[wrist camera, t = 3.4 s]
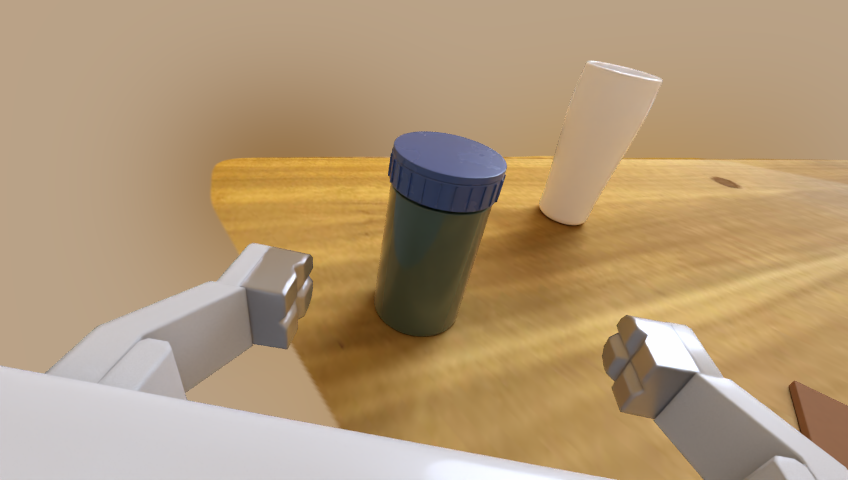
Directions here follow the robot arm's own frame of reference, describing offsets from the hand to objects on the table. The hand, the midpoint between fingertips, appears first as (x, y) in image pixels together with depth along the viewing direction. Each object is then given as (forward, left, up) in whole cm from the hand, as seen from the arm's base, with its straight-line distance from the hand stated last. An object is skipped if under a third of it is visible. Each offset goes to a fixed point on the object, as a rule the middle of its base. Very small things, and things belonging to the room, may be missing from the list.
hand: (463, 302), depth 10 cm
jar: (+10, +6, -12) cm, 17 cm away
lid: (+10, +6, -1) cm, 12 cm away
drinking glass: (+33, +2, -12) cm, 35 cm away
